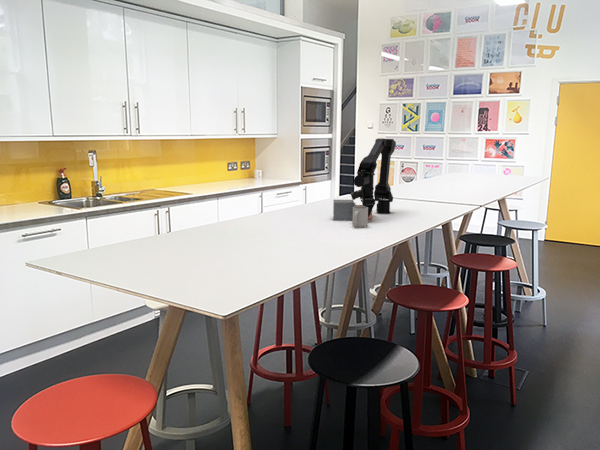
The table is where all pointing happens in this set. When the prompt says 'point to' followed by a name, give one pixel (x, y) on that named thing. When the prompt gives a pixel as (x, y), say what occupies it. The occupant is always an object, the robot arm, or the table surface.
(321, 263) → the table surface
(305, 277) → the table surface
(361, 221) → the cup
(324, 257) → the table surface
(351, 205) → the dark grey block
